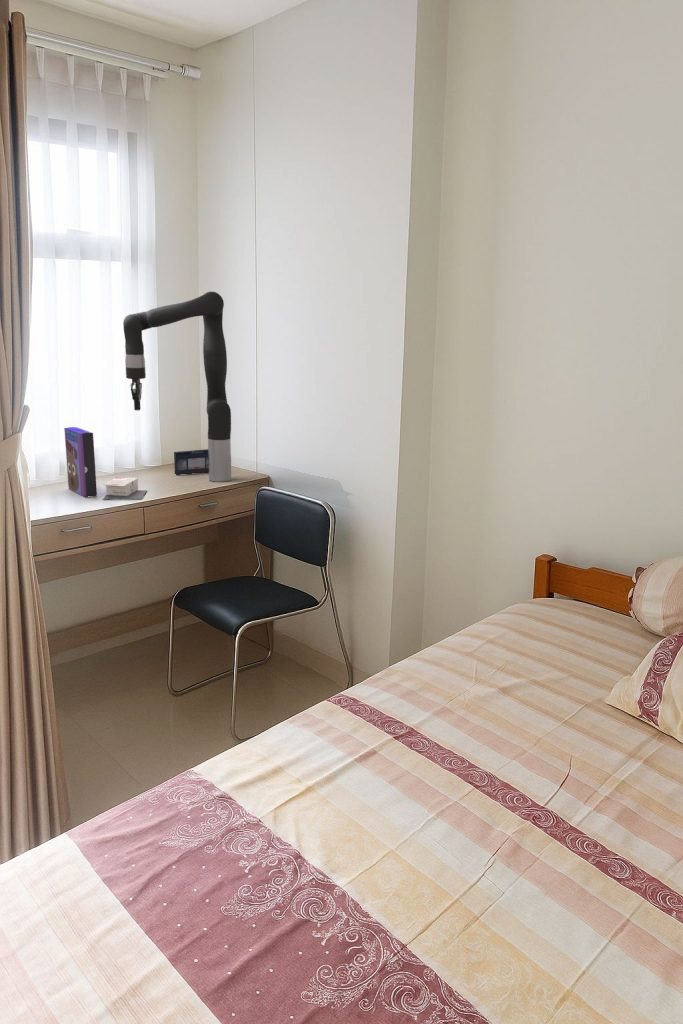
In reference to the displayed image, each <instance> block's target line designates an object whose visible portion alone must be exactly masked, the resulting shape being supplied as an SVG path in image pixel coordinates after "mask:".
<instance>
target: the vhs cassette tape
mask: <svg viewBox="0 0 683 1024" xmlns="http://www.w3.org/2000/svg"><path fill="white" fill-rule="evenodd" d="M173 460H174V462H173V463H174V464H173V465H174V475H175V474H176V475H175V476H181V475H180V474H188V475H193V474H192V473H199V474H206V473H205V472H209V463H208V448H207V449H205V448H204V449H196V450H195V449H194V450H193V449H192V450H182V451H173Z"/></svg>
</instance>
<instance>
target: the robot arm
mask: <svg viewBox="0 0 683 1024" xmlns="http://www.w3.org/2000/svg"><path fill="white" fill-rule="evenodd" d="M224 307H225V303H224V299H223V297H222V296H221V295H220V294H219V293H218V292H216V291H208V292H205V293H203V294H202V295H200V296H198V297H196V298H193V299H190V300H186V301H184V302H179V303H174V304H168V305H163V306H158V307H155V308H152V309H149V310H146V311H142V312H136V313H130V314H127V315H126V316H125V317H124V319H123V321H122V322H123V323H122V325H123V334H124V339H125V340H124V341H125V343H124V344H125V345H124V348H125V360H124V363H125V365H124V366H125V378H127V379H129V380H131V383H130V391H131V392H130V394H131V399H132V400H133V406H134V407H133V408H134V409H133V410H134V411H140V410H141V409H142V408H141V399H142V393H143V391H142V390H143V389H142V388H143V383H142V382H141V380H144V379H146V377H147V376H146V357H145V350H144V348H145V347H144V345H145V344H144V342H143V331H146V330H149V329H152V328H158V327H159V328H160V327H162V326H163V327H164V326H166V325H171V324H174V323H177V322H180V321H183V320H186V319H191V318H195V317H202V320H203V326H204V329H203V331H204V332H203V341H202V342H203V344H202V345H203V347H202V354H203V356H202V357H203V365H204V366H203V367H204V375H205V382H206V388H207V389H206V391H207V393H206V395H207V396H206V413H207V425H208V426H207V449H208V463H209V473H208V480H209V481H211V482H219V483H221V482H230V481H232V451H231V450H232V448H231V447H232V446H231V445H232V443H231V436H232V435H231V434H232V412H231V407H230V405H229V403H228V397H227V391H226V381H227V372H228V359H227V358H228V357H227V353H228V352H227V347H226V340H225V334H224V328H223V320H224V319H223V317H224V316H223V313H224Z"/></svg>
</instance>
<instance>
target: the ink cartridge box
mask: <svg viewBox="0 0 683 1024" xmlns="http://www.w3.org/2000/svg"><path fill="white" fill-rule="evenodd" d="M103 486H105V491H106V493H105V496H106V495H114V496H129V495H130V494H132V493H134V492H135V491H137V490H139V479H138V478H137V477H118V476H117V477H115V478H113V479H111V480H109V481H107V482H106V481H105V483H104V484H103Z"/></svg>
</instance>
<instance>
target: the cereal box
mask: <svg viewBox="0 0 683 1024" xmlns="http://www.w3.org/2000/svg"><path fill="white" fill-rule="evenodd" d="M63 430H64V431H63V432H64V443H65V456H66V457H65V458H66V468H67V469H66V470H67V472H66V473H67V482H68V483H67V484H68V486H67V487H68V490H69V491H72V492H74V493H75V494H77V495H79V496H81V497H82V496H83V498H84V497H85V498H89V497H88V496H93V497H97V496H98V491H97V489H98V488H97V474H96V460H95V459H96V458H95V457H96V456H95V442H94V432H91V431H88V430H85V429H82V428H80V427H78V426H70V427H64V429H63ZM96 495H97V496H96Z"/></svg>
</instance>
